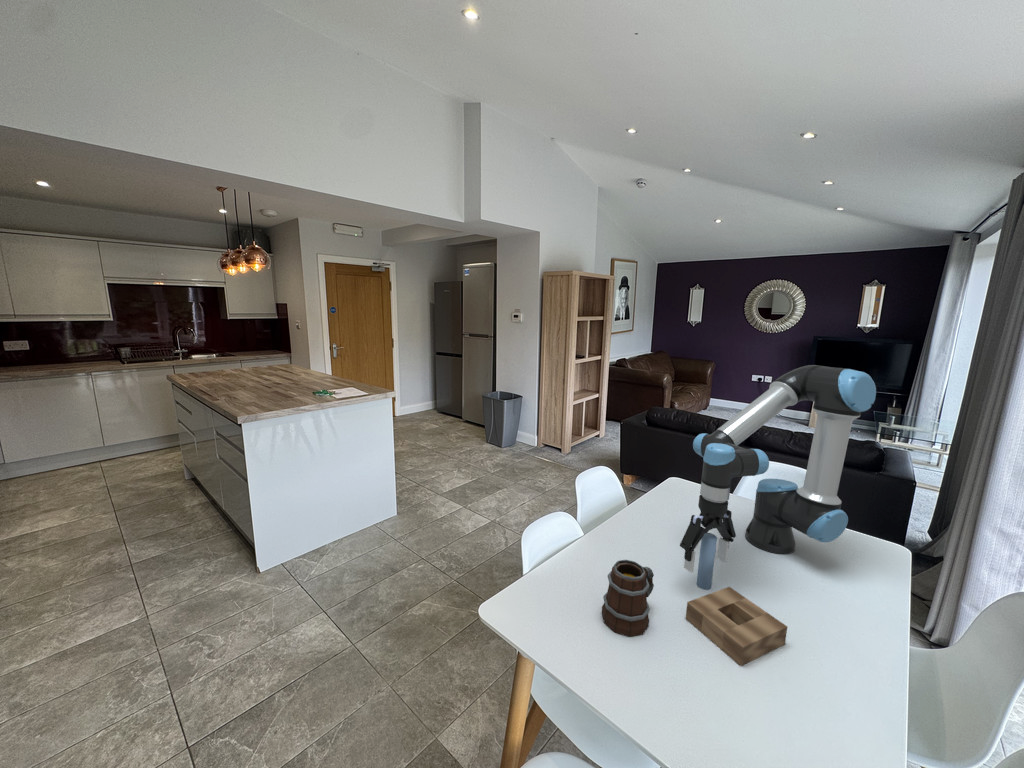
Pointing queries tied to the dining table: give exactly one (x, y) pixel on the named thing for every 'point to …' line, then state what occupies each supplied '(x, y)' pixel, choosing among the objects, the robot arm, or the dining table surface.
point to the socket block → (736, 625)
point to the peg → (706, 561)
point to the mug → (628, 598)
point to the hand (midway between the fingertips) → (705, 564)
